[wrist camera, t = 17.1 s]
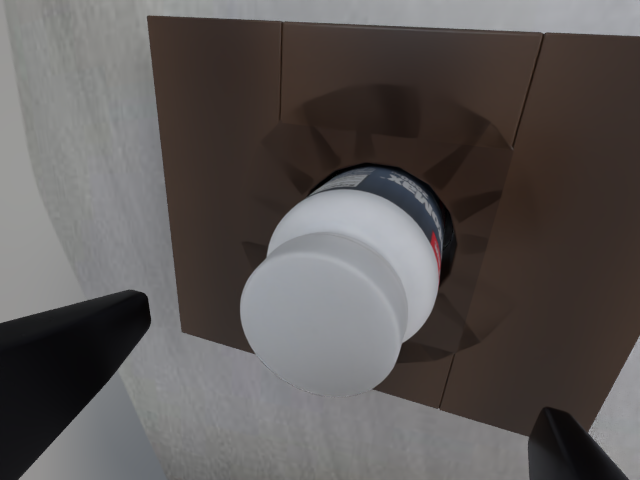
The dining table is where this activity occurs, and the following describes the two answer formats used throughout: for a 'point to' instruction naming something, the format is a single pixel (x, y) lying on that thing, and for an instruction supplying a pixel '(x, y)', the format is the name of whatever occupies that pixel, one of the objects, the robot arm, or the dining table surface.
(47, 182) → the dining table surface
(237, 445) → the dining table surface
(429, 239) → the pill bottle
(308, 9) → the dining table surface
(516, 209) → the socket pad
